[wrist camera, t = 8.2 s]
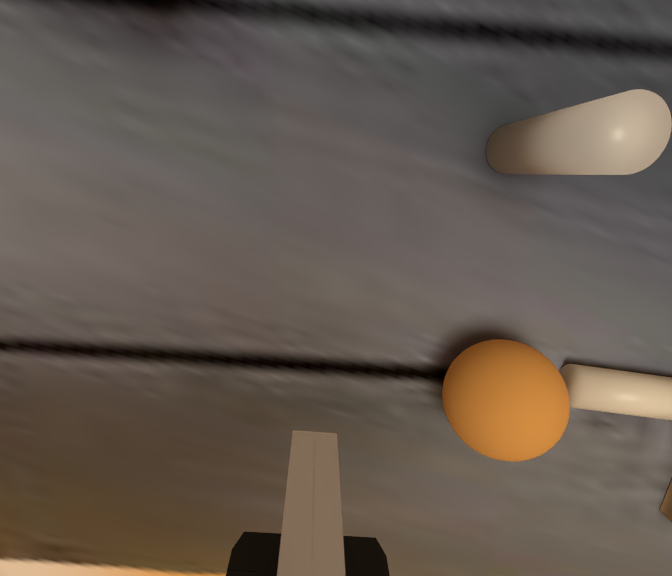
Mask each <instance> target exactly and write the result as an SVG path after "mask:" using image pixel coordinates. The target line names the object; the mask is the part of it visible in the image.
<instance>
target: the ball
mask: <svg viewBox="0 0 672 576" xmlns="http://www.w3.org/2000/svg"><path fill="white" fill-rule="evenodd" d="M442 397H443V405H444V410H445V413H446V416H447V418H448V421H449V423H450V424H451V426H452V428H453V430H454V431H455V432H456V433H457V435H458V436H459V437H460V438H461V439H462V440H463V441H464V442H465V443H466V444H467V445H468V446H470V447H471V448H472V449H474V450H476V451H477V452H479V453H481V454H483V455H485V456H487V457H490V458H493V459H497V460H503V461H523V460H528V459H532V458H535V457H537V456H539V455H541V454H543V453H545V452H546V451H548V450H549V449H550V448H552V447H553V446H554V445H555V444H556V443H557V441H558V440H559V439H560V438H561V436H562V435H563V433H564V431H565V429H566V426H567V423H568V419H569V414H570V400H569V394H568V390H567V387H566V384H565V382H564V380H563V378H562V376H561V374H560V372H559V371H558V370H557V368H556V367H555V365H554V364H553V363H552V362H551V361H550V360H549V359H548V358H547V357H545V356H544V355H543V354H542V353H540V352H539V351H537V350H536V349H534V348H532V347H530V346H528V345H526V344H523V343H520V342H517V341H512V340H503V339H495V340H488V341H483V342H480V343H477V344H475V345H472V346H471V347H469V348H467V349H466V350H464V351H463V352H462V353H461V354H459V355H458V356H457V357H456V358H455V360H454V361H453V362H452V364H451V365H450V367H449V369H448V371H447V373H446V375H445V379H444V383H443V390H442Z"/></svg>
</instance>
